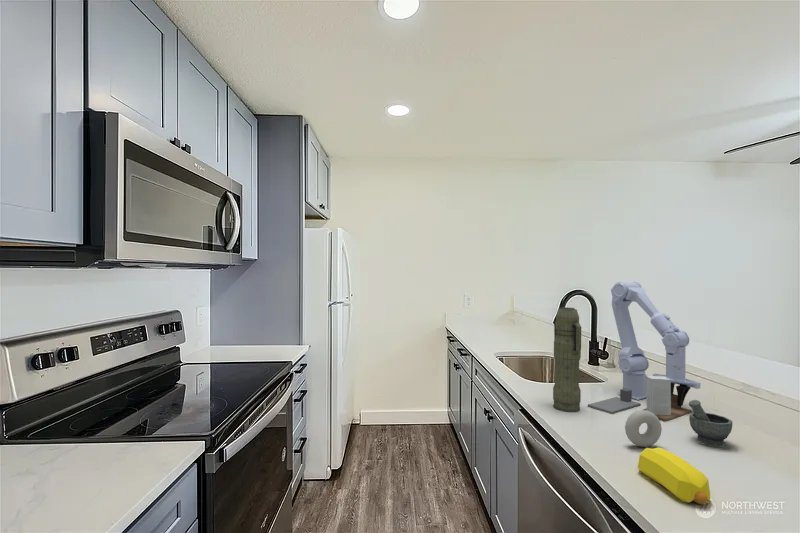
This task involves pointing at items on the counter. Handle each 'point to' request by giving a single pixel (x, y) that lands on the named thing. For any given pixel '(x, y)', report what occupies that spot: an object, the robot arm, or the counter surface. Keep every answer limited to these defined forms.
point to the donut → (651, 433)
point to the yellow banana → (675, 475)
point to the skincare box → (659, 395)
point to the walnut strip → (673, 410)
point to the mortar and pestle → (709, 426)
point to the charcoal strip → (616, 402)
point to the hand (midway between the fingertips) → (675, 404)
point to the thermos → (567, 360)
